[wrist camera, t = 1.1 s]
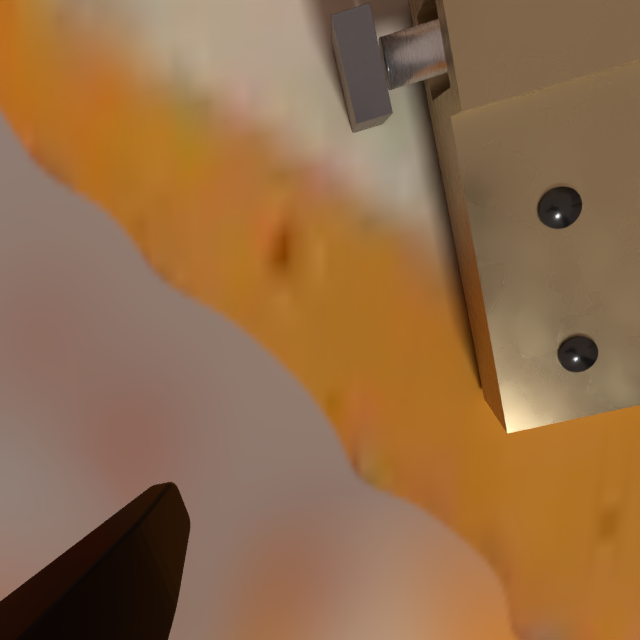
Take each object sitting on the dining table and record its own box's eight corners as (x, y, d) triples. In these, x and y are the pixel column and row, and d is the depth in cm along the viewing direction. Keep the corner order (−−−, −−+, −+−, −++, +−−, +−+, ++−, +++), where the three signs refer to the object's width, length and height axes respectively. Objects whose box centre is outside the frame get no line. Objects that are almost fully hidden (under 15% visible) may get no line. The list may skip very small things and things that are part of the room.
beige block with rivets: (763, 335, 20) (877, 378, 16) (484, 398, 21) (520, 453, 17) (763, -116, 16) (922, -224, 11) (408, -2, 17) (432, -60, 13)
